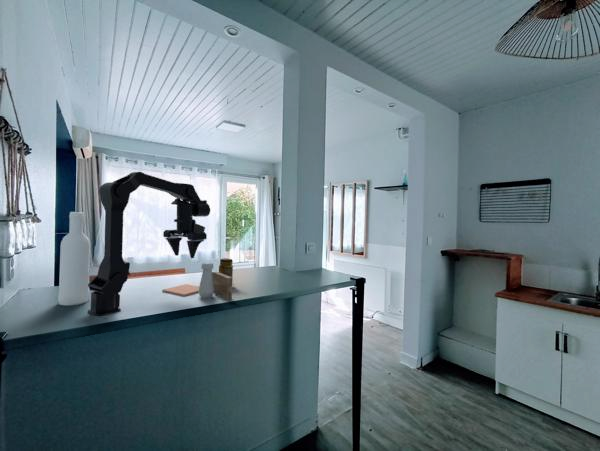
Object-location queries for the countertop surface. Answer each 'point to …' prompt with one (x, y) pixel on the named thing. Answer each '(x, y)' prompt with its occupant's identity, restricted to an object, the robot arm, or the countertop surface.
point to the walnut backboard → (222, 285)
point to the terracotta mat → (182, 290)
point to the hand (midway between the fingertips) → (184, 256)
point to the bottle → (74, 263)
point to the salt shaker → (206, 281)
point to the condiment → (226, 267)
